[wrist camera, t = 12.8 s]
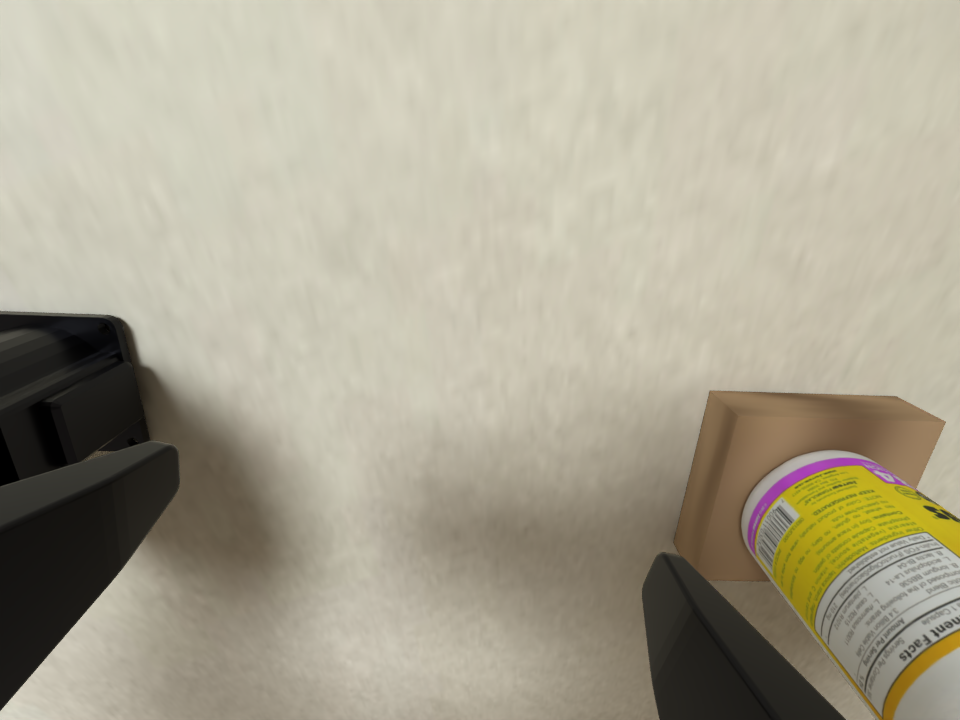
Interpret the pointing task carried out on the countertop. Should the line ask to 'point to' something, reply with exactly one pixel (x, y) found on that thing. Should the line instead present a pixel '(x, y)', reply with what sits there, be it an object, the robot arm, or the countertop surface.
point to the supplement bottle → (866, 577)
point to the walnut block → (784, 460)
